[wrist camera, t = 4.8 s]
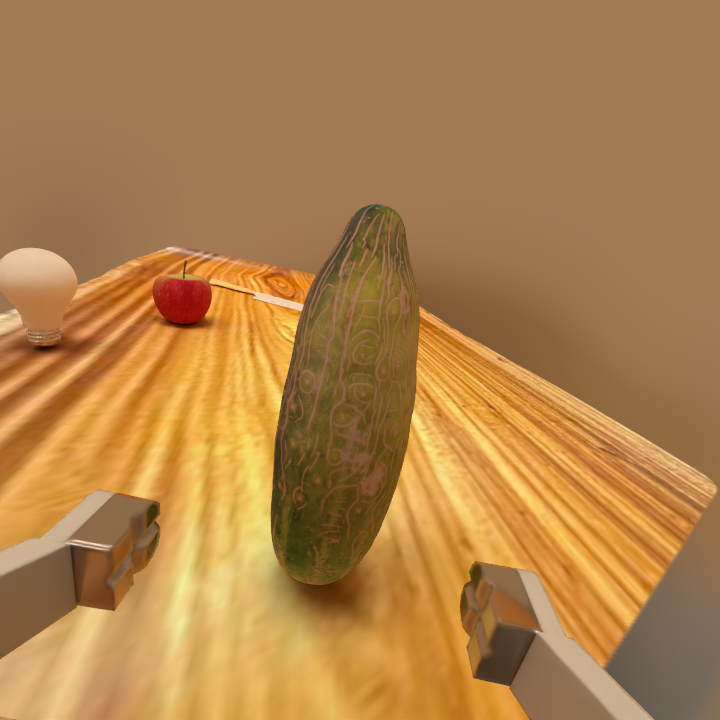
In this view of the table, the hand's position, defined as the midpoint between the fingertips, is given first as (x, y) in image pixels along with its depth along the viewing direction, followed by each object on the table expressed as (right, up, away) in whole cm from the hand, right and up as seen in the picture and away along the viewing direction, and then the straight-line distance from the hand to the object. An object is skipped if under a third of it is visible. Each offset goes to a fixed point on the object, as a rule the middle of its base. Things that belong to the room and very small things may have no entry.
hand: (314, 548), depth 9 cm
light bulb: (-35, +6, +33) cm, 48 cm away
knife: (-21, +19, +76) cm, 80 cm away
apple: (-27, +11, +50) cm, 58 cm away
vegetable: (-1, -8, +11) cm, 14 cm away
